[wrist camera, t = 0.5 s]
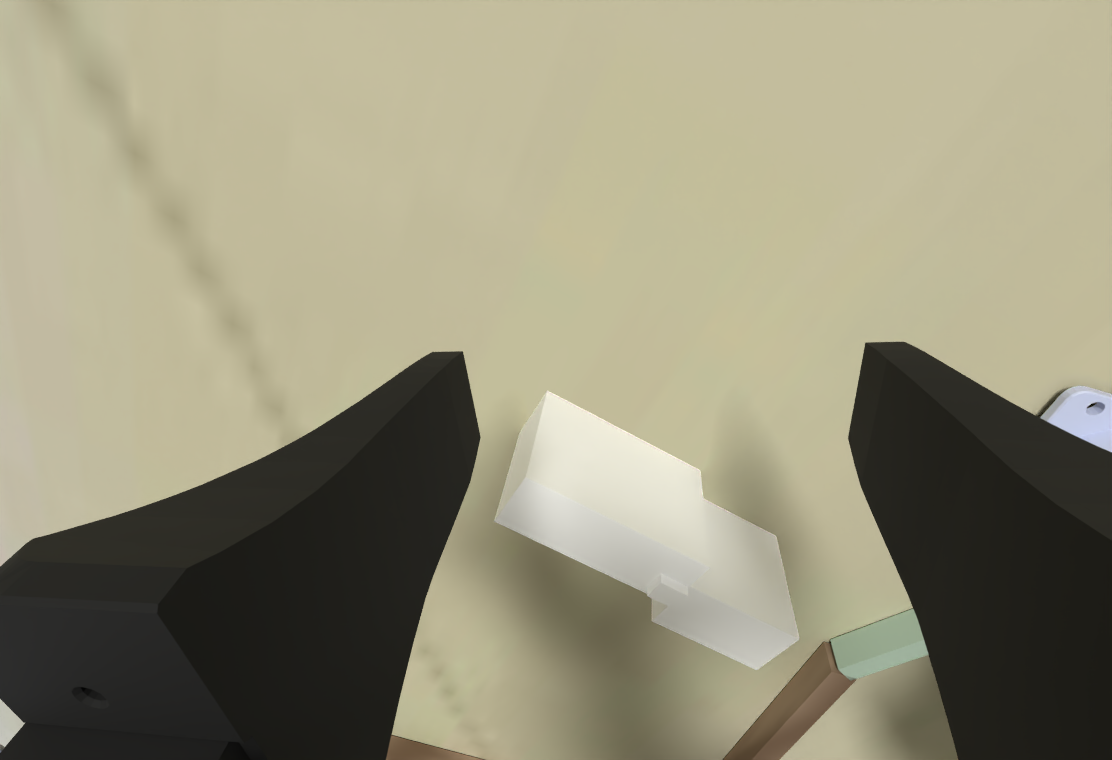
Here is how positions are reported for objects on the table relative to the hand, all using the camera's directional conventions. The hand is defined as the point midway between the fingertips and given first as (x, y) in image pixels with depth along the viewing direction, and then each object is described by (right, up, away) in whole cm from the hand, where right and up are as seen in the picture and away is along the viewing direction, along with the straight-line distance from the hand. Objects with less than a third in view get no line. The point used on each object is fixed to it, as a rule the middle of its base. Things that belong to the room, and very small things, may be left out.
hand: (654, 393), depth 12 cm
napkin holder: (+2, -4, +15) cm, 15 cm away
